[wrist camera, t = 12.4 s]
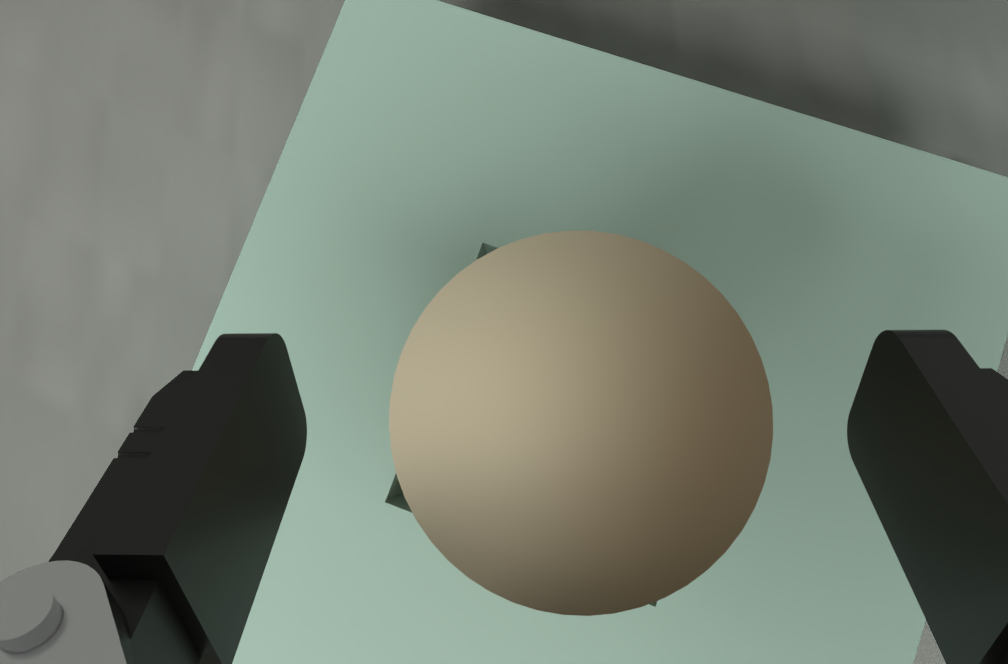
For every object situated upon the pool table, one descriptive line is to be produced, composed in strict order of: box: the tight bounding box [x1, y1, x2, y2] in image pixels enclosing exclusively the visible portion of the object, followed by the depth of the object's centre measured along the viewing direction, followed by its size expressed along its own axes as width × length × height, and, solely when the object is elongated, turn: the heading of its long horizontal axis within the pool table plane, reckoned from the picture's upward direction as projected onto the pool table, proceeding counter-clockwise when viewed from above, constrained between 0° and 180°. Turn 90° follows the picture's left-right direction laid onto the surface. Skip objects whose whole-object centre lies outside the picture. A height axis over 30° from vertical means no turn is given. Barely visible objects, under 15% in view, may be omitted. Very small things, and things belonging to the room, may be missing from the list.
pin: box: [389, 231, 773, 616], centre depth 12 cm, size 4×4×10 cm
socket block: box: [192, 0, 1008, 664], centre depth 16 cm, size 14×14×5 cm
